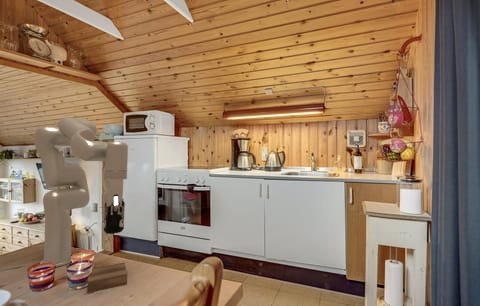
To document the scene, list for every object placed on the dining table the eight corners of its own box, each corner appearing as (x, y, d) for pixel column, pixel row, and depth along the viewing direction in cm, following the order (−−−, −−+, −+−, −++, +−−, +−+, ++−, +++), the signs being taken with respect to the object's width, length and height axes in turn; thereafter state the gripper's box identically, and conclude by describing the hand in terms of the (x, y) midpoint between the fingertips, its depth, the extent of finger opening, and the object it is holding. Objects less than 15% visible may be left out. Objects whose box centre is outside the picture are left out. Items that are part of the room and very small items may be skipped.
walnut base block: (89, 278, 92) (89, 268, 92) (124, 271, 98) (124, 262, 98) (87, 292, 81) (87, 282, 81) (126, 284, 87) (127, 274, 87)
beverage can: (115, 234, 87) (116, 201, 87) (99, 233, 88) (100, 200, 89) (127, 229, 93) (128, 198, 94) (112, 228, 95) (113, 197, 95)
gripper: (104, 173, 97) (102, 219, 97) (104, 176, 82) (102, 230, 82) (124, 173, 101) (123, 217, 100) (129, 176, 86) (127, 228, 85)
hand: (114, 222), depth 91 cm, fingers closed on beverage can, 6 cm apart
